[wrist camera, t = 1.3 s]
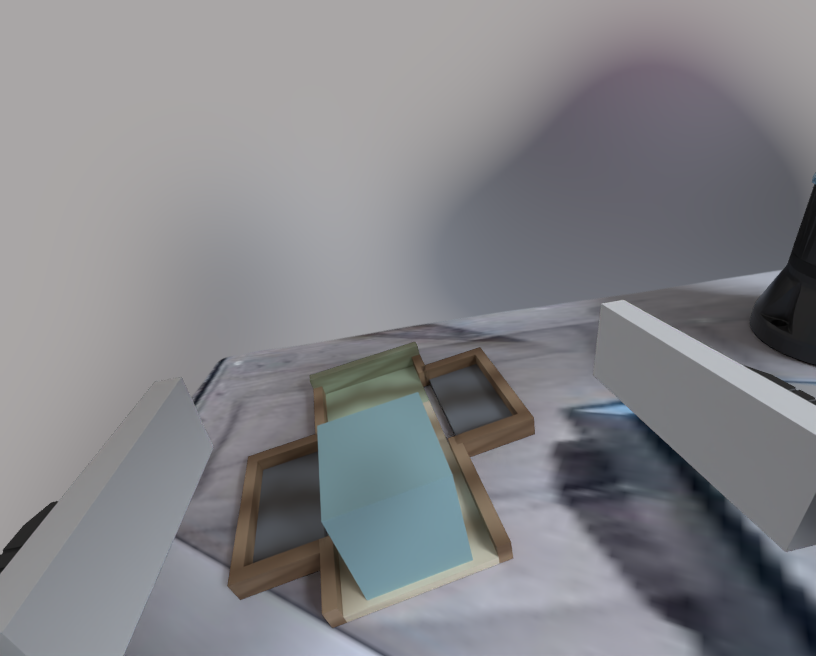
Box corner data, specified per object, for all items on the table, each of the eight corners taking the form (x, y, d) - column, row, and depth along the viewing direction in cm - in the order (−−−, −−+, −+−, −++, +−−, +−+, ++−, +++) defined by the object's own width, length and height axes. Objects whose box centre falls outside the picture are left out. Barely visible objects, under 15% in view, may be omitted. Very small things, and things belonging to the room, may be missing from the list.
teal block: (473, 559, 31) (452, 474, 26) (367, 600, 30) (321, 521, 25) (439, 472, 39) (418, 391, 33) (354, 503, 38) (317, 425, 32)
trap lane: (600, 524, 32) (602, 495, 30) (231, 667, 29) (206, 646, 27) (471, 346, 57) (467, 324, 55) (264, 414, 54) (252, 393, 52)
